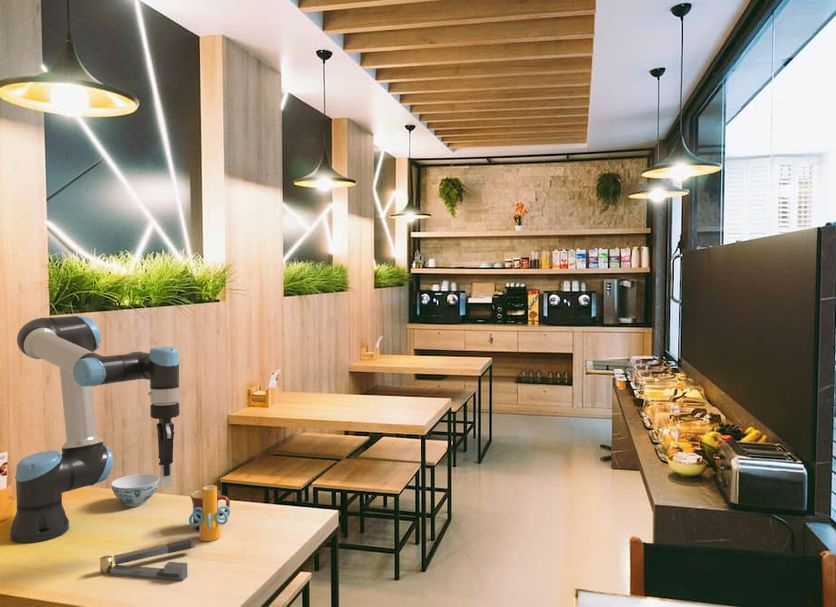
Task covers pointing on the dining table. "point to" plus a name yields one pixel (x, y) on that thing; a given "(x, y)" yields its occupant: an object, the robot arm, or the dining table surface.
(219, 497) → the mug
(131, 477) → the chinaware
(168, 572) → the tongs fixed
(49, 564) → the dining table surface
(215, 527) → the cylinder
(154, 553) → the tongs arm
